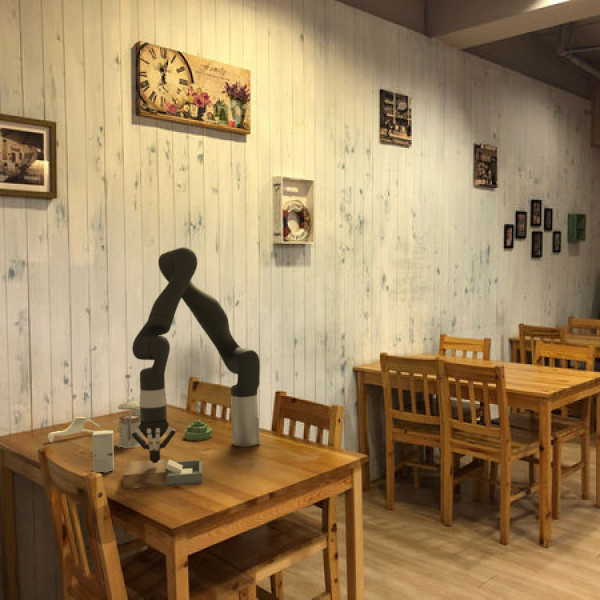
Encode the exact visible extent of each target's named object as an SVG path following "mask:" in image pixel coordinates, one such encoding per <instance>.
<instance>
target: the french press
mask: <svg viewBox="0 0 600 600" xmlns="http://www.w3.org/2000/svg"><path fill="white" fill-rule="evenodd" d="M131 377H132V376H131V374H130V373H126V374H125V376H124V378H126V379H127V390H128V392H127V393H128V395H130V385H129V384H130V383H129V378H131ZM138 407H140V404H139V402H137V401H135V400H127V401H123V402H121V403H119V404H118V405H117V409H118V410H123V411H125V410H128V411H129V412H128V413H129V414H127V412H125V413H124V415H121V416H120V417H118V418H119V421H118V426H119V427H118V433H119V434H118V436H119V438H118V440H119V442H118V443H117V444H116V447H117V446H118V447H117V448H120V447H123V448H122V449H132V448H138V447H142V446H141V445H140V444H139V443H138V442H137V441H136V440H135V439H134V438H133V436H132V433H133V432H134V431H136V430H137V429H138V428H139V425H140V419H138V418H140V416H139V415H135V414H134V415H132V411H131V409H135V408H138ZM140 433H141V437H142V438H143V436H142V435H143V433H142V432H141V431H140Z"/></svg>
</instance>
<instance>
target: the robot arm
mask: <svg viewBox="0 0 600 600" xmlns="http://www.w3.org/2000/svg"><path fill="white" fill-rule="evenodd" d="M197 267H198V258H197V255H196V253H195V251H194V250H193V249H191V248H190V247H187V246H185V247H184V246H183V247H179V248H176V249H172V250H169V251H166V252H163V253H162V254H160V255H159V257H158V268H159V270H160V272H161V274H162V276H163V277H164V279H165V280H166V281H167V285H166V286H165V287H164V289H163V290H162V291H161V292H160V294H159V295H158V296H157V298H156V299H155V301H154V303H153V305H152V307H151V309H150V312H149V315H148V319H147V321H146V322H145V323H144V325H143V326H142V328H141V329H140V330H139V332H138V333H137V335H136V336H135V338H134V339H133V343H132V349H131V351H132V355H133V356H134V357H135V358H136V359H137V360H140V361H141V360H144V361H153V364H152V366H150V367H146V368H143V369H141V370H140V372H139V402H138V403H139V404H140V425H139V426H138V427H139V428H137V430H136V431H134V432H133V433H132V436H133V438H134V439H135V440H136V441H137V442H138V443H139V444H140V445H141V446H140V447H142V449H143V450H148V451H149V460H150V461H152V463H158V461H159V460H161V450H162V449H165V448H166V447H167V445H168V444H169V443H170V442H171V439H172V438H173V437H174V436H175V434H176V431H177V430H176V428H172V427H170V425H169V422H168V417H167V393H166V383H165V382H166V381H165V380H166V379H165V374H166V368H167V363H168V360H169V355H170V351H171V347H170V345H171V344H170V342H169V340H168V338H166V337H165V336H164V335H165V334H168V333H169V331H170V330H171V328H172V323H173V321H174V318H175V314H176V311H177V309H178V307H179V304H180V301H183V302H184V303H185V305H186V306H187V307H188V309H189V311H190V312H191V313H192V315H193V317H194V318H195V320H196V321H197V323H198V324H199V325H200V327H201V328H202V329H203V331H204V333H205V334H206V335H207V337H208V338H209V340H210V341H211V342H212V344H213V346H214V347H215V348H216V350H217V352H218V354H219V356H220V359H221V360H222V362H223V364H224V365H225V367H226V369H227V370H228V371H229V372H230V373H232V374H234V375H237V381H236V384H234V385H232V386H231V388H230V406H231V407H230V409H231V410H230V411H231V412H230V413H231V434H232V435H231V436H232V437H231V438H232V441H231V442H232V445H233V446H236V447H250V446H251V447H252V446H255V445H260V444H261V443H260V417H259V407H258V406H259V403H258V402H259V401H258V400H259V399H258V397H259V396H258V389H259V387H260V379H261V378H260V373H261V371H260V369H261V367H260V366H261V364H260V362H261V361H260V357H259V354H258V353H257V352H256V351H255V350H254V349H250V348H242V347H241V345H239V344H238V342H237V341H236V340H235V338H234V336H232V334H231V330H230V324H229V323H230V322H229V318H228V315H227V313H226V312H225V310H224V308H223V307H222V305H221V303H220V302H219V301H218V300H217V299H216V298H215V297H214V296H213V295H211V294H209V293H208V292H207V291H205V290H204V289H201V288H200V287H199V286H197V285H196V284H195V283H193V282H192V281H191V280H192V278H193V276H194V274H195V273H196V271H197ZM140 431H141V432H140ZM166 432H167V433H166ZM141 433H142V435H143V436H144V437H145V438H146V439H147V441H146V440H145V439H144V438H143V436H142V435H141ZM165 433H166V435H167V436H166V437H165V438H164V439H163V440H162V442H161V438H162V437H163V436H164V434H165ZM141 436H142V437H141ZM154 439H155V442H154Z"/></svg>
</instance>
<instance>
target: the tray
mask: <svg viewBox="0 0 600 600" xmlns="http://www.w3.org/2000/svg"><path fill="white" fill-rule="evenodd" d="M173 461H174V462H176V463H178V464H181V465H183V467H182V469H190V468H193V473H187V474H176V473H174V472H172V471H170V470H169V473H168V475H166V482H167V486H166V487H175V486H188V485H189V484H190V485H200V484H201V485H202V484H203V459H190V460H176V461H175V460H173Z"/></svg>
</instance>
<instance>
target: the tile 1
mask: <svg viewBox="0 0 600 600" xmlns="http://www.w3.org/2000/svg"><path fill="white" fill-rule="evenodd" d="M168 459H169V458H168ZM174 461H175V460H172V459H169V461H168V463H167V465H166V468H165V469H168V470H170V471H172V472H174V473H176V474H180V472H181V470H182V467H183V465H181V464H178V463H176V462H174Z"/></svg>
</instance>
